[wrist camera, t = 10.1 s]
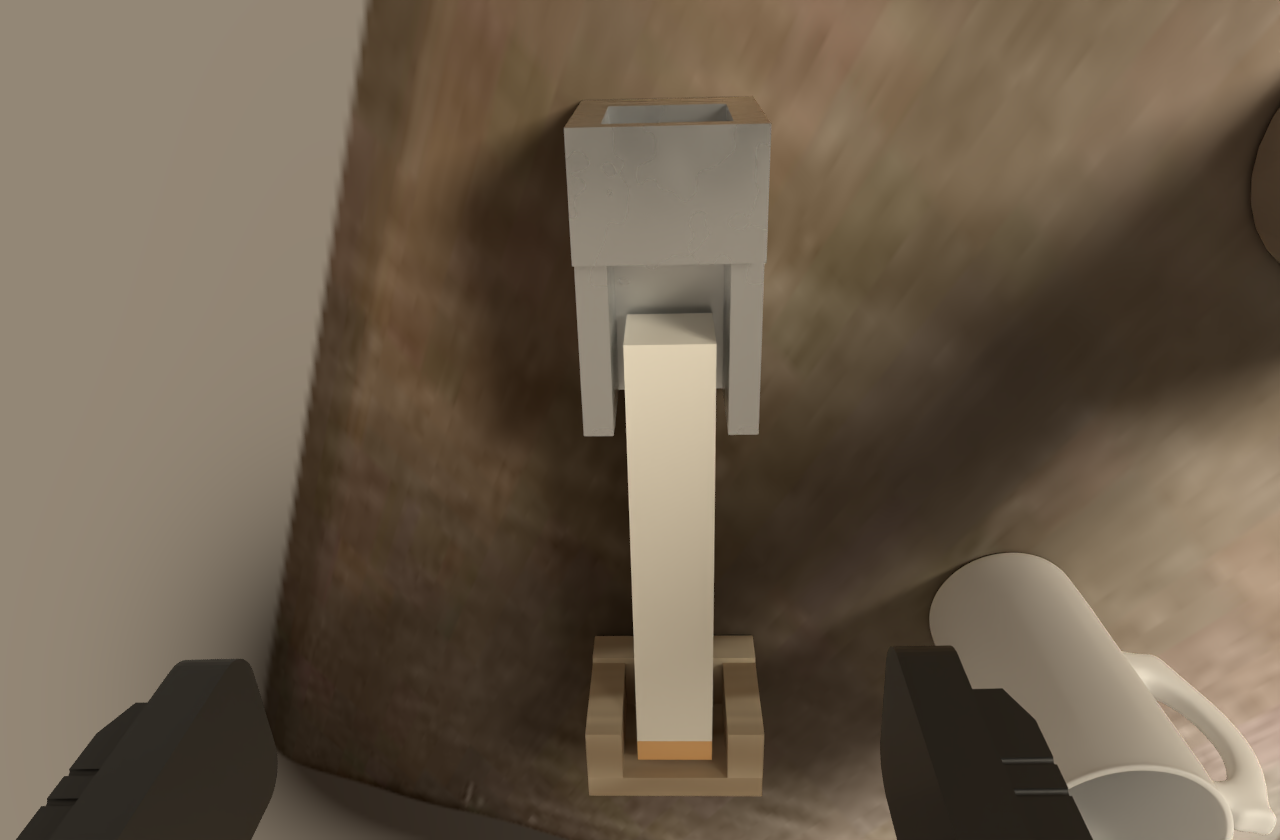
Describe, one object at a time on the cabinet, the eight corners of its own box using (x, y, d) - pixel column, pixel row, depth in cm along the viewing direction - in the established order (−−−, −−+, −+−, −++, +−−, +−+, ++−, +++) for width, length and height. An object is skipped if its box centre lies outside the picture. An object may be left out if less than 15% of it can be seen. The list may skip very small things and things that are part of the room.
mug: (906, 664, 42) (989, 906, 31) (939, 539, 39) (1044, 757, 28) (1129, 682, 42) (1288, 930, 31) (1178, 558, 39) (1374, 784, 28)
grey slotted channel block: (581, 100, 32) (563, 128, 26) (753, 96, 31) (771, 123, 26) (595, 372, 36) (582, 444, 30) (746, 370, 36) (760, 442, 30)
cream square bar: (626, 314, 33) (623, 345, 30) (712, 312, 33) (716, 344, 30) (639, 706, 41) (638, 759, 38) (708, 707, 40) (712, 759, 38)
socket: (594, 635, 42) (584, 729, 36) (752, 635, 41) (764, 730, 36) (598, 698, 43) (589, 796, 38) (750, 698, 43) (761, 797, 38)
